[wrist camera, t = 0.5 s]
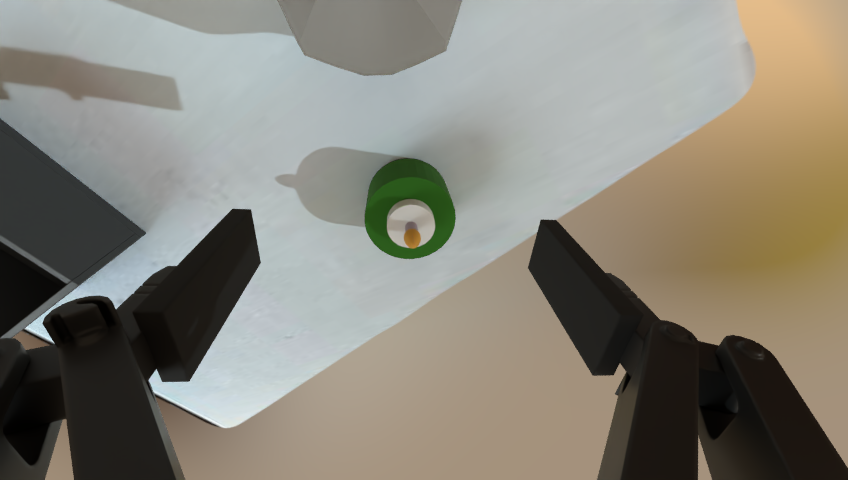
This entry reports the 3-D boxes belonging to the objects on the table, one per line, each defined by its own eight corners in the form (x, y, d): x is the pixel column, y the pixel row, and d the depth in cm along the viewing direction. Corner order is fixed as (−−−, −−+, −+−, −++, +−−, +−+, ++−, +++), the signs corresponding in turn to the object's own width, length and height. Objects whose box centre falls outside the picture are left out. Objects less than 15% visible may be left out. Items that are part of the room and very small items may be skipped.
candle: (372, 234, 38) (366, 290, 30) (364, 160, 34) (354, 200, 25) (446, 229, 39) (462, 284, 30) (447, 156, 35) (466, 194, 26)
